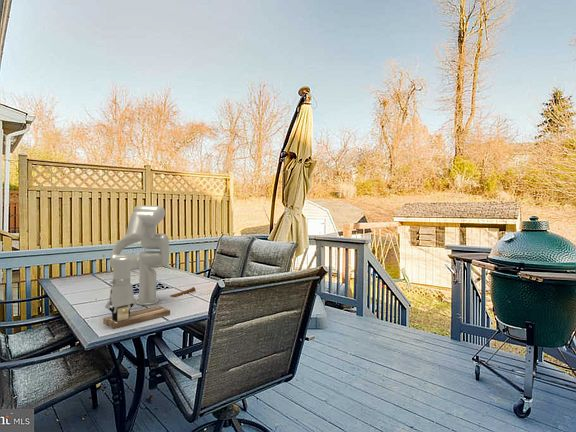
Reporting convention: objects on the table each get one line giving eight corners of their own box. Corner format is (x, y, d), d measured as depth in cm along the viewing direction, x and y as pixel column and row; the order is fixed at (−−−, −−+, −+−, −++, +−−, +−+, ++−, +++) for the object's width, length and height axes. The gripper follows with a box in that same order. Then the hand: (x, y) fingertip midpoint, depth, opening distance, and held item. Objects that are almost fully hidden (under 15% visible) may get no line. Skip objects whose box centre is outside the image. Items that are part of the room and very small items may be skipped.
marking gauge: (112, 318, 155) (112, 306, 155) (122, 315, 159) (122, 304, 159) (119, 322, 150) (119, 309, 150) (129, 319, 154) (130, 307, 154)
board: (103, 323, 156) (103, 318, 156) (158, 310, 178) (158, 305, 178) (113, 329, 148) (113, 323, 148) (170, 314, 171) (170, 310, 171)
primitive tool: (174, 298, 205) (174, 292, 205) (168, 297, 208) (169, 291, 208) (196, 292, 222) (196, 287, 222) (190, 291, 225) (190, 286, 225)
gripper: (106, 286, 146) (105, 325, 146) (142, 280, 159) (141, 316, 159) (99, 283, 150) (99, 321, 151) (135, 278, 164) (134, 313, 164)
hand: (121, 318), depth 155 cm, fingers closed on marking gauge, 5 cm apart
